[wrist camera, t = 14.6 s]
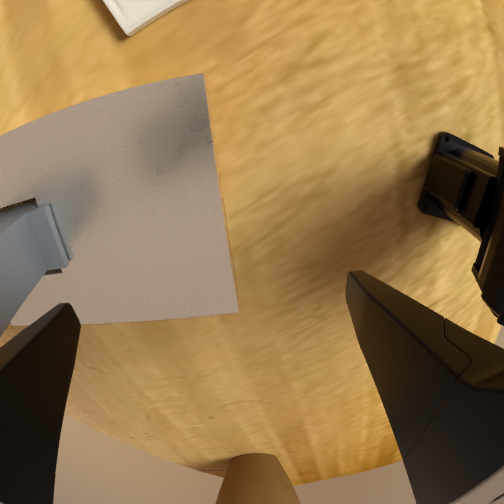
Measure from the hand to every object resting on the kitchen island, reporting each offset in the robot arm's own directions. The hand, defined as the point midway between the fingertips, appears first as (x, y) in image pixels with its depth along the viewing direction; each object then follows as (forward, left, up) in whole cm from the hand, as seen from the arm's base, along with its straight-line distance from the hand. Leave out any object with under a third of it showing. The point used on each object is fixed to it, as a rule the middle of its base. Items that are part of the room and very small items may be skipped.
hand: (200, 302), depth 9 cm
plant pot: (-10, +42, -12) cm, 45 cm away
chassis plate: (+10, +4, -12) cm, 16 cm away
